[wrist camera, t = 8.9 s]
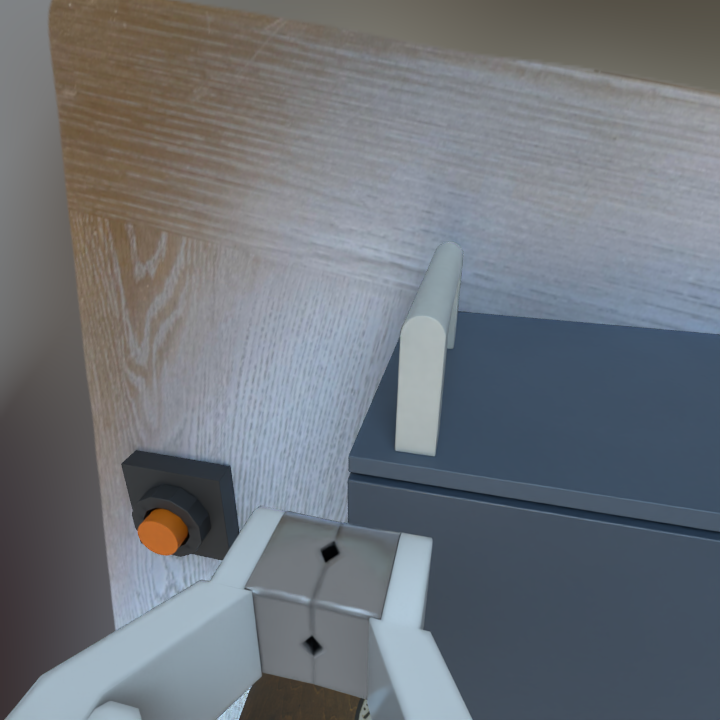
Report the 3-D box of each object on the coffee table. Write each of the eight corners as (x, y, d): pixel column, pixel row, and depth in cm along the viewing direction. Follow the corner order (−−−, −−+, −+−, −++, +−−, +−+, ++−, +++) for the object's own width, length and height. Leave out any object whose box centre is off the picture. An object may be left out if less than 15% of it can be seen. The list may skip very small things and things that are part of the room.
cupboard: (411, 320, 35) (347, 479, 19) (762, 353, 31) (1048, 595, 15) (402, 476, 41) (347, 693, 26) (693, 522, 37) (845, 822, 21)
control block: (153, 527, 52) (129, 556, 48) (135, 450, 48) (107, 475, 44) (241, 545, 50) (222, 577, 46) (230, 466, 46) (208, 494, 42)
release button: (153, 537, 47) (141, 550, 45) (145, 504, 45) (133, 518, 44) (191, 544, 46) (180, 559, 45) (184, 512, 44) (173, 526, 43)
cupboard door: (417, 223, 32) (347, 316, 17) (807, 243, 28) (1213, 397, 12) (411, 317, 35) (348, 472, 20) (764, 350, 30) (1048, 585, 15)
